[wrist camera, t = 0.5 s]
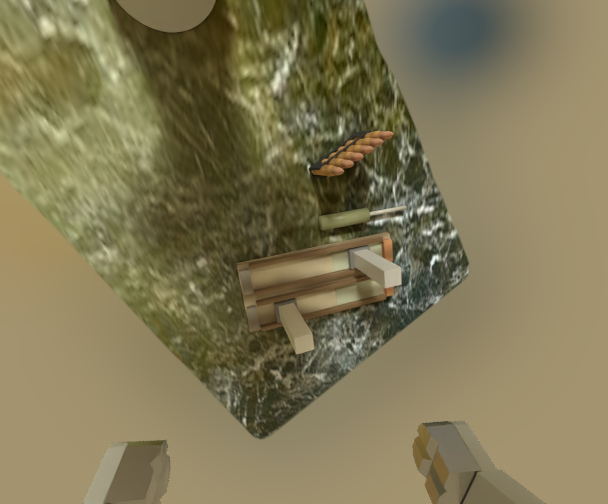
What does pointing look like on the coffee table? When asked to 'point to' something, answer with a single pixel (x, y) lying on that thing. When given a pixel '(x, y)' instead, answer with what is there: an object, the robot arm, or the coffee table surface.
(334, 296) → the wooden double track board
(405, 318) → the coffee table surface
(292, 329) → the beige rectangular pillar
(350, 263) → the pillar on grey base
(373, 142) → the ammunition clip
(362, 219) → the screwdriver
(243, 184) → the coffee table surface
